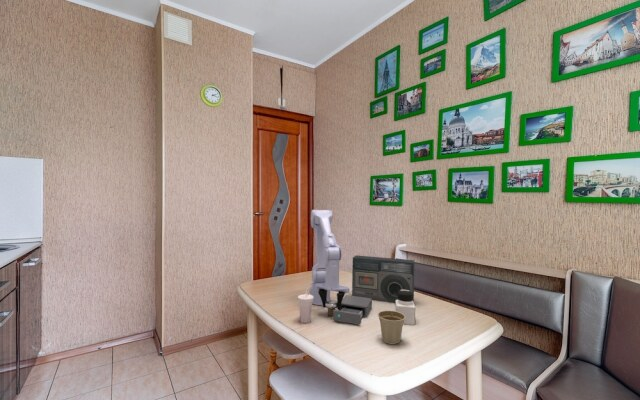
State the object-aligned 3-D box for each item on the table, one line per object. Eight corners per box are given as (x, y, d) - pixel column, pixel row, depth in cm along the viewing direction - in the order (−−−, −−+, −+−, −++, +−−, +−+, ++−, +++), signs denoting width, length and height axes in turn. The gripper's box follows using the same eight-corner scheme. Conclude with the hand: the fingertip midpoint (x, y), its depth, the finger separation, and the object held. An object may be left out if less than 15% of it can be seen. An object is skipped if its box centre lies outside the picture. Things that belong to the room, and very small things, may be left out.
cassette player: (352, 297, 145) (352, 257, 145) (355, 293, 152) (356, 255, 152) (412, 306, 135) (413, 263, 135) (413, 301, 141) (414, 260, 141)
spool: (326, 316, 121) (326, 306, 121) (329, 313, 124) (329, 304, 124) (334, 317, 119) (334, 308, 119) (336, 314, 122) (336, 305, 122)
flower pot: (374, 334, 105) (374, 310, 105) (399, 333, 106) (399, 309, 106) (381, 347, 96) (382, 321, 96) (409, 346, 97) (409, 320, 97)
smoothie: (301, 325, 112) (301, 289, 112) (294, 319, 117) (295, 284, 117) (316, 322, 115) (316, 286, 115) (309, 316, 120) (309, 282, 120)
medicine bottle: (415, 325, 113) (415, 294, 113) (396, 323, 115) (396, 293, 115) (413, 318, 120) (413, 289, 120) (395, 316, 122) (395, 287, 122)
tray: (359, 325, 111) (359, 315, 111) (332, 320, 115) (332, 310, 115) (366, 314, 122) (366, 304, 122) (341, 310, 126) (341, 301, 126)
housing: (366, 317, 120) (366, 307, 120) (338, 313, 124) (338, 302, 124) (371, 308, 130) (371, 298, 130) (346, 304, 135) (346, 295, 135)
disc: (323, 307, 120) (323, 303, 120) (327, 303, 125) (327, 299, 125) (336, 309, 118) (336, 305, 118) (340, 304, 123) (340, 301, 123)
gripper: (312, 275, 120) (312, 308, 120) (346, 279, 115) (345, 314, 115) (318, 272, 127) (318, 303, 127) (350, 275, 122) (350, 308, 122)
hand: (331, 308), depth 122 cm, fingers closed on disc, 6 cm apart
